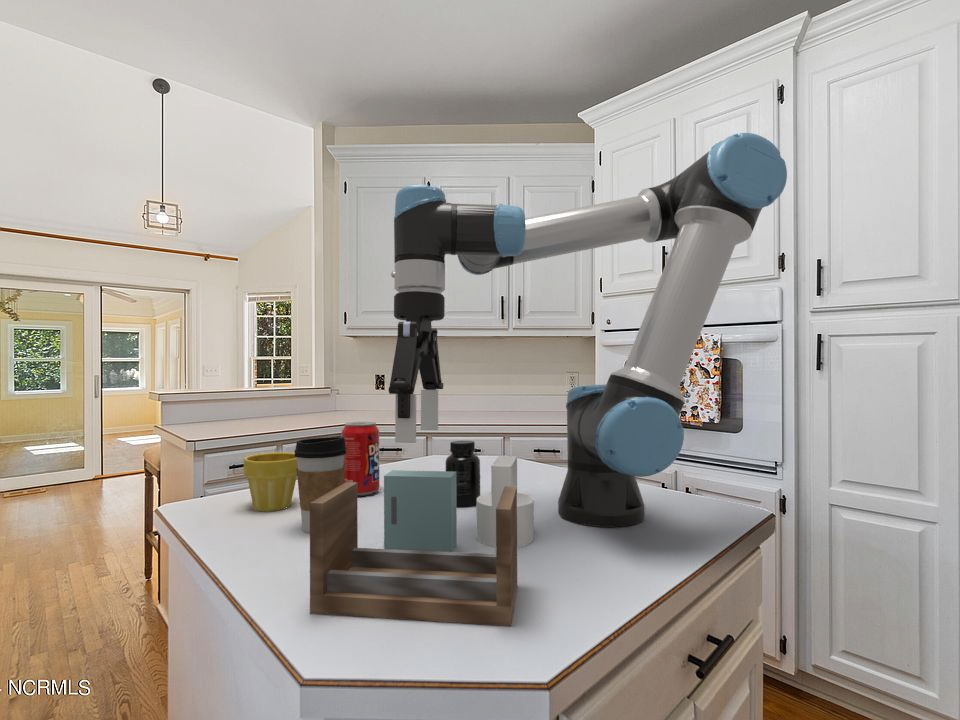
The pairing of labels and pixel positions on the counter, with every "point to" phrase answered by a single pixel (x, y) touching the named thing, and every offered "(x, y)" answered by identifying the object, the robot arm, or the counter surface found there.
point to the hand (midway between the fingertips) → (418, 435)
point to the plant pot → (271, 479)
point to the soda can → (362, 456)
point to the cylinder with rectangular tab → (487, 503)
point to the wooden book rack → (409, 570)
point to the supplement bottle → (465, 472)
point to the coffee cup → (318, 470)
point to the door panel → (420, 510)
